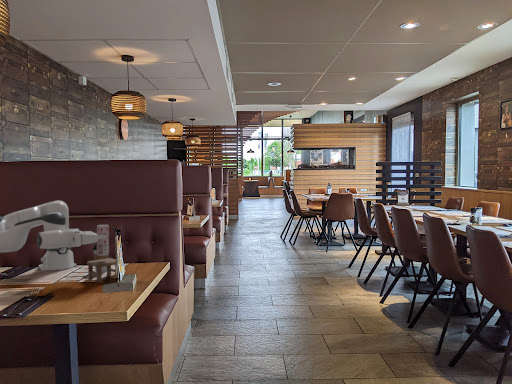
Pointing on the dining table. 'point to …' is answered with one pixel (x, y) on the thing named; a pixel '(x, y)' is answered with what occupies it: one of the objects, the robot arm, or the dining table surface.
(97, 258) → the coffee cup
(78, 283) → the dining table surface
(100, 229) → the beverage can
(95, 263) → the stool
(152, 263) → the dining table surface
